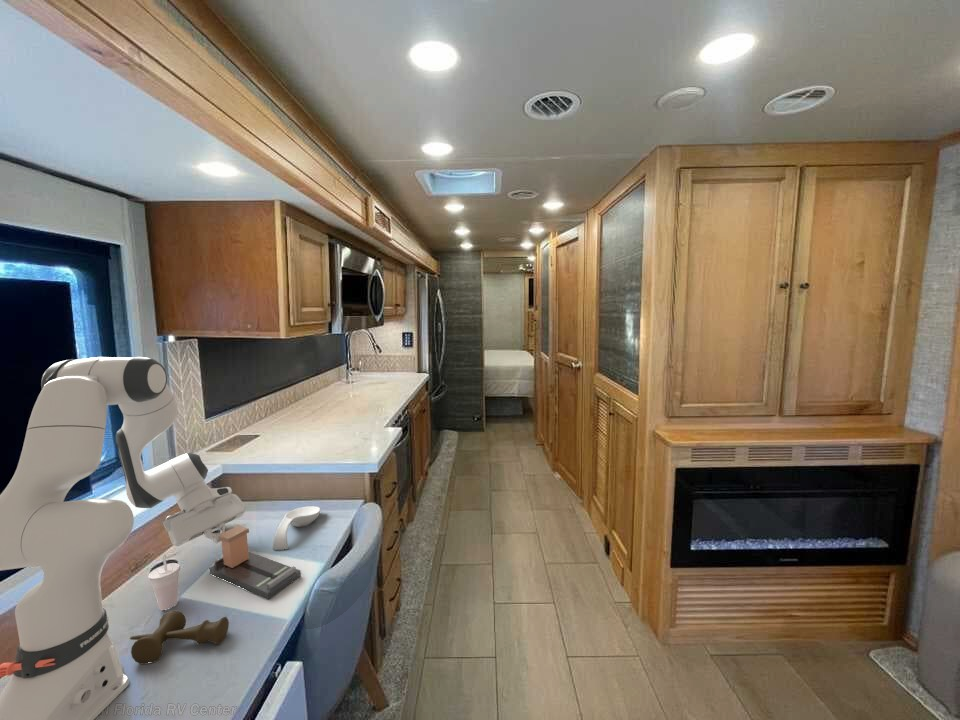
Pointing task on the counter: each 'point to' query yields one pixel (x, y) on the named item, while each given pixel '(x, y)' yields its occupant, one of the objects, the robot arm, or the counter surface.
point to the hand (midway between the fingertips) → (221, 540)
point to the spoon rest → (297, 519)
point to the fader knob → (234, 546)
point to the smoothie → (165, 584)
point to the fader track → (257, 575)
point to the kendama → (176, 635)
